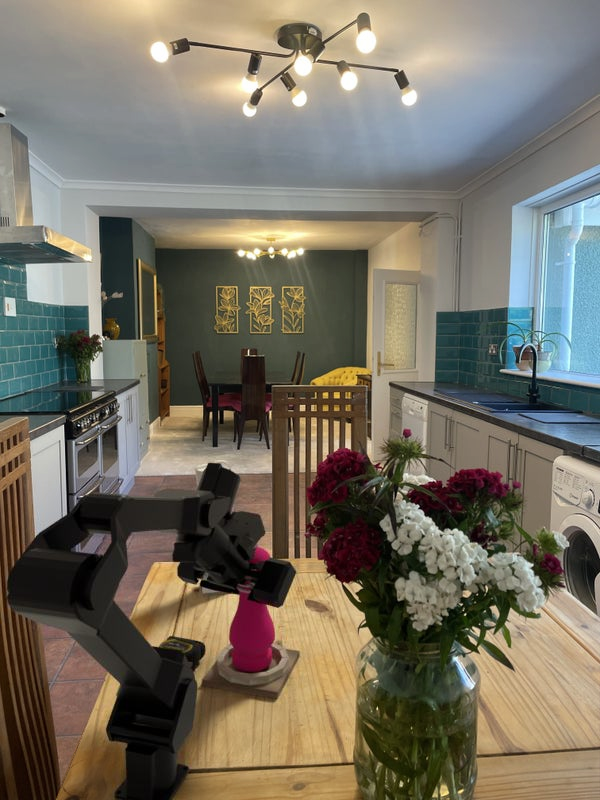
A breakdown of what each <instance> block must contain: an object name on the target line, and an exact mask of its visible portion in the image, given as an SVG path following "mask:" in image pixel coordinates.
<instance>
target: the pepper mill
mask: <svg viewBox="0 0 600 800" xmlns="http://www.w3.org/2000/svg"><path fill="white" fill-rule="evenodd" d="M252 549H253V550H254V551H255V555H254V557H253V559H252V560H249V562H250V563H254V564H257V563H258V562H259V561H266V560H267V559H269V558H272V557H271V555H270V553H269V552H268V551H267V550H266V549H265V548H264V547H263V548H262V547H261V546H259V541H258V542H257V544H256V545H255V546H254V547H253V548H252ZM256 571H257V570H256ZM245 580H246V579H245ZM250 581H251V580H248V581H247V584H246V586H241V585H237V589H238V590H239V595H238V605H237V607H236V608H237V609H236V611H235V613H234V616H233V618H232V620H231V624H230V627H229V635H228V640H229V644H230V643H231V645H232V646H233V647H234V649H233V651H232V663H233V665H234V666H235V668H237V669H239V670H242V671H246V672H256V671H261V670H263V669H265V668H267V667H268V666H269V665H270V664H271V662H272V649H271V648H270V646H271V645H272V644H273V642H274V643H275V640H276V631H275V630H276V629H275V625H274V622H273V619H272V616H271V614H270V612H269V609H268V607H267V606H268V605H265V604H260V603H256V602H253V601H249V600H247V598H248V596H249V594H250V591H251V589H252V586H253V585H251V584H250Z"/></svg>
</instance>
